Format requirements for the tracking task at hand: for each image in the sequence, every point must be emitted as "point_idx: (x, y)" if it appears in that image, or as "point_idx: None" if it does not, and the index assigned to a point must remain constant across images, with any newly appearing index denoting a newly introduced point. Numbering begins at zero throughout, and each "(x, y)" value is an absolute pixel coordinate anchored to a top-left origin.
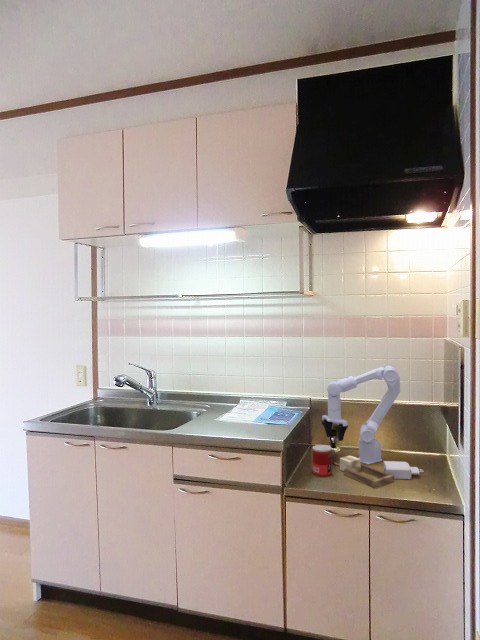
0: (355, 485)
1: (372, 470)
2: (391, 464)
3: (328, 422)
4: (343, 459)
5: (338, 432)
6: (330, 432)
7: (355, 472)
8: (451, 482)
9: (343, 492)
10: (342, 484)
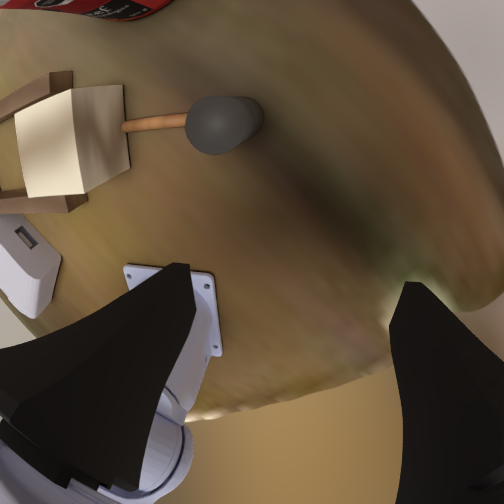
0: (6, 68)
1: (22, 195)
2: (5, 264)
3: (449, 495)
4: (47, 100)
5: (89, 328)
6: (403, 360)
7: (12, 105)
8: (5, 302)
9: (3, 10)
10: (27, 24)
